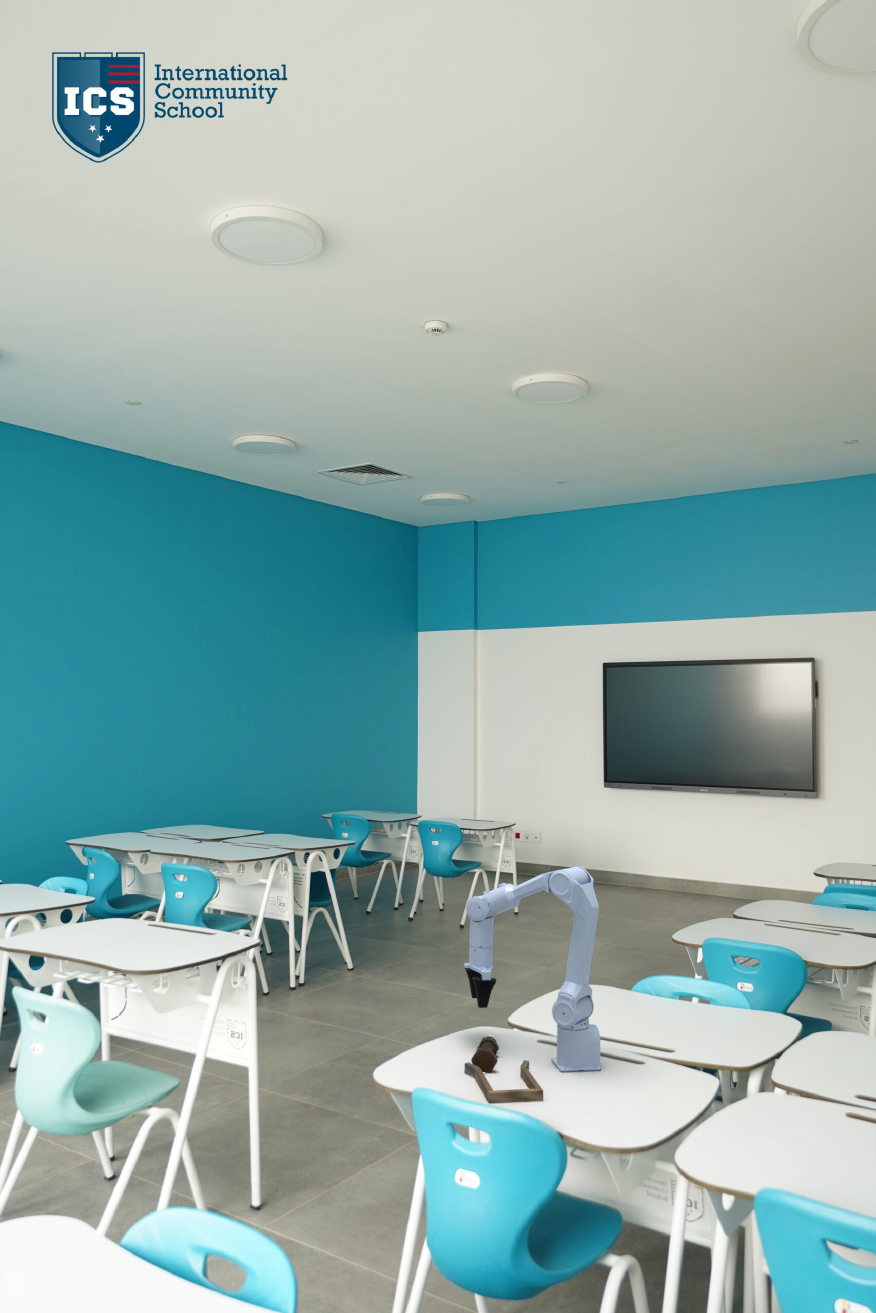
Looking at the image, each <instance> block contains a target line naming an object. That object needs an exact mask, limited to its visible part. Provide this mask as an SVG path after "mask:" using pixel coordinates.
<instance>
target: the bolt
mask: <svg viewBox="0 0 876 1313" xmlns="http://www.w3.org/2000/svg"><path fill="white" fill-rule="evenodd" d="M499 1049H500V1047H499V1044H498V1042H497V1040H496V1038H495V1037H493V1036H489V1035H488V1036H485V1037H482V1039H481V1041H480V1042H479V1044H478V1046H477V1049H476V1051H475V1052H474V1054H473V1056H472V1057H471V1060H470V1061H471V1064H473V1065H475V1066H477V1067H479V1068H481V1070H482V1072H485V1073H484V1074H491V1073H492V1071H494V1068H495V1067H496V1065H497V1064H498V1059H497V1056H496V1055H497V1053H498V1051H499Z"/></svg>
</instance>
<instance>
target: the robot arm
mask: <svg viewBox="0 0 876 1313" xmlns="http://www.w3.org/2000/svg"><path fill="white" fill-rule="evenodd" d="M594 880H595V879H594V878H593V877H592V876H591V874H590V873H589V872H588V871H587V870H586V868H585V867H583V866H581V865H575V866H571V867H568V868H563V869H557V870H553V871H549V872H545V873H544V872H543V873H541V874H539V875H537V876H534V877H533V878H531V879H529V880H527V881H524V882H522V883H520V884H518V885H516V886H515V885H514V884H512V883H506V882H503V883H502V882H501V883H500V884H498V887H497V888H494V889H492V890H489V889H487V890H485V891H483V895H475V896H472V897H471V898H470V899H469V900H468V901H467V903H466V906H465V911H466V914H467V916H468V918H469V949H468V951H469V952H468V955H469V956H468V962H464V963H463V966H464V970H465V972H466V975H467V978H468V983H469V988H470V995H471V998H472V999H476V1001H477V1006H478V1008H479V1009H483V1008H484V1009H487V1008H488V1006H489V1001H490V999H491V996H492V995H491V994H492V991H493V989H494V987H495V985H496V984H497V979H496V978H495V977H492V971H493V969H494V963H493V953H494V952H493V950H494V923H495V918H496V917H497V915H499V914H501V913H504V912H507V911H509V910H512V909H515V908H517V907H518V906H519V905H520V903H521V900H522V899H524V898H527V897H529V896H532V895H535V894H537V893H540V892H542V891H545V892H546V893H550V894H551V893H552V894H553V895H554V896H555V897H556V898H558V899H559V900H560V901H561V902H563V903H564V904H565V905H566V906H568V907H569V909H570V910H571V911H572V913H573V914H574V915H573V922H572V929H571V936H570V943H569V948H568V950H569V951H568V955H567V956H568V957H567V964H566V968H565V969H566V971H565V976H564V982H563V984H562V985H561V987H560V989H559V991H558V995H557V999H556V1000H555V1002H554V1003H553V1005H552V1008H551V1016H552V1018H553V1020H554V1021H555V1023H556V1057H554V1056H553V1057H551V1059H550V1060H551V1061H552V1062H553V1063H554V1065H555V1066H556V1067H557V1068H558V1070H559V1071H560V1072H579V1071H578V1070H585V1071H601V1070H602V1067H601V1036H600V1030H599V1027H598V1026H597V1025H596V1024H591V1023H590V1021H589V1020H590V1017H591V1016H592V1015H593V1013H594V1009H595V1008H594V1007H595V1005H594V1000H593V996H592V995H593V988H592V987H591V985H589V982H590V974H591V966H592V960H593V953H594V949H595V948H594V946H595V940H596V933H597V927H598V920H599V913H600V906H599V902H598V899H597V896H596V892H595V889H594V882H595V881H594Z"/></svg>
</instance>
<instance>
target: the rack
mask: <svg viewBox="0 0 876 1313" xmlns="http://www.w3.org/2000/svg"><path fill="white" fill-rule="evenodd" d="M519 1070H520V1077H521V1079H522V1080H523V1083H525V1085H526V1086H527V1088H521V1089H517V1088H515V1089H496V1090H494V1089H493V1087H492V1086H491V1084H490V1082H489V1081H488V1079H487V1077H486V1075H485V1073H483V1072H482V1070H481V1068H479V1067H477V1066H475V1065H473V1064H472V1062H465V1063H464V1073H465V1074H466V1075H468V1076H470V1077H472V1078H474V1079H475V1081H476V1083H477V1084H478V1087H479V1088H480V1089H481V1091H482V1094H483V1095H484V1097H485V1099H486V1101H487V1102H488V1104H497V1103H519V1102H539V1101H541V1102H542V1101H544V1089H543V1088H542V1087H541V1085H540V1084H539V1082H538V1081H537V1080H536V1079H535V1077H534V1076H533V1074H532V1073H531V1071H530V1060H525V1059H524V1060H523V1061H522V1063H521V1064H520V1069H519Z"/></svg>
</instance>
